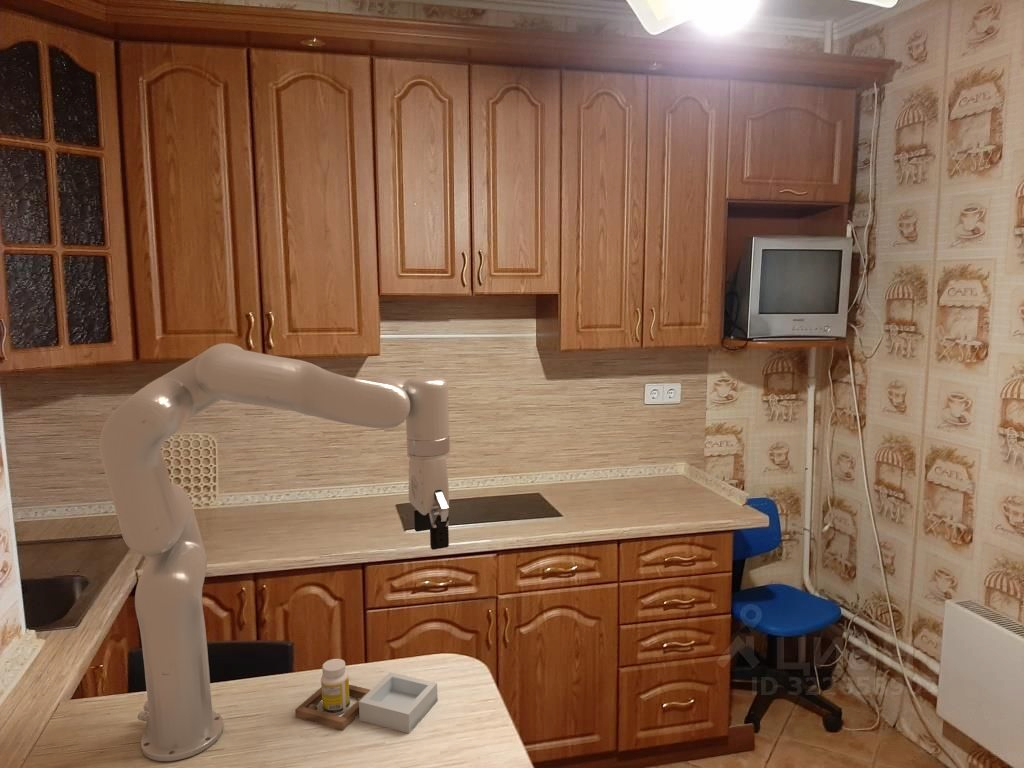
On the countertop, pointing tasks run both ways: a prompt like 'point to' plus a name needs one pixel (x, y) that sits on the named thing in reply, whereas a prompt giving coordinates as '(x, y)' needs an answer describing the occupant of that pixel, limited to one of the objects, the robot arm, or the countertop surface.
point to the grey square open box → (398, 702)
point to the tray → (311, 714)
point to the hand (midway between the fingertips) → (431, 538)
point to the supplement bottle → (335, 687)
